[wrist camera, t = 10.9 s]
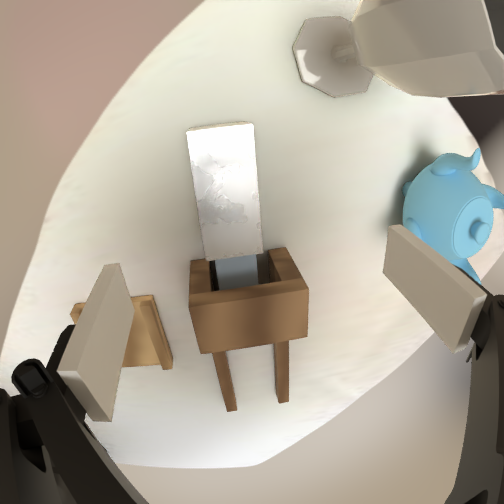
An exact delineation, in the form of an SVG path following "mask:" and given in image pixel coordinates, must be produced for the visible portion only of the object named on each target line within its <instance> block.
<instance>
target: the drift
mask: <svg viewBox="0 0 504 504" xmlns="http://www.w3.org/2000/svg"><path fill="white" fill-rule="evenodd" d="M215 265H216V271H217V278H218V285H219V291H220V290H227V289H234V288H241V287H247V286H254V285H258V271H257V258H256V254H253V255H246V256H240V257H233V258H226V259H219V260H215Z"/></svg>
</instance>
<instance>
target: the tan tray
mask: <svg viewBox="0 0 504 504" xmlns="http://www.w3.org/2000/svg"><path fill="white" fill-rule="evenodd" d="M131 301H132V304H133V307H134V310H135V312H134V316H133V320H132V324H131V328H130V333H129V337H128V341H127V345H126V350H125V354H124V359H123V363H122V367H134V366H148V365H160V364H161V366H162V368H163V370H167V369H172V364H173V357H172V354H171V351H170V348H169V345H168V342H167V340H166V337H165V334H164V331H163V328H162V325H161V321H160V318H159V315H158V312H157V309H156V306H155V302H154V299H153V296H152V295H147V296H139V297H131ZM85 304H86V303H79V304H75V305H74V307H73V309H72V311H71V313H70V315H71V317H72V319H73V321H74V324H75V325H76V323H77V321H78V319H79V317H80V314H81V312H82V310H83V308H84V306H85Z"/></svg>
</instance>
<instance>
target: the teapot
mask: <svg viewBox="0 0 504 504" xmlns="http://www.w3.org/2000/svg"><path fill="white" fill-rule="evenodd" d="M480 154H481V152H480V148H477V149H476V150H475V152H474V153H473V155H472V156H471V157H464V156H461V155H458V154H455V153H446V154H443V155H441V156H439V157H438V158H437V159H436V160H435V161H434V163H432V164H430V165H428V166H427V167H425V168H424V169H423V170H422V171H421V172H420V173H419V174H418V175H417V176H416V177H415V179H414V180H413V182H412V181H408V182H406V183H405V184H404V186H403V189H402V192H403V195H404V196H405V201H404V206H403V226H404V227H405V228H406V229H408V230H409V231H410V232H412V233H413V234H414V235H416V236H417V237H418V238H420V239H421V240H422V241H424V242H425V243H426V244H428V245H429V246H430V247H431V248H433V249H434V250H435V251H437V252H438V253H439V254H440V255H442V256H443V257H444V258H445V259H447V260H448V261H449V262H450V263H451V264H453V265H455V266H457V267H460V268H462V269H463V270H464V271H465V272H467V273H468V274H469V276H471V277H472V278H474V279H475V281H477V282H478V283H479V284H481V281H480V279H479V277H478V276H477V274H476V272H475V271H474V269H473V268H472V266H471V265H470V263H469V262H468V260H467V258H468V257H471V256H473V255H474V254H476V253H477V252H478V251H479V250H480V249H481V248H482V247H483V246H484V244H485V243H486V241H487V239H488V237H489V235H490V232H491V229H492V225H493V208H499V209H504V195H503V194H502V193H501V192H499V191H498V190H496V189H495V188H493V187H491V186H489V185H485V184H481V182H480V181H479V179H478V178H477V177H476V176H475V175H474V174H473V173H472V172H471V171H470V170H473V169H475V168H476V167H477V165H478V163H479V160H480Z"/></svg>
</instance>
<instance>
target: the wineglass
mask: <svg viewBox="0 0 504 504" xmlns="http://www.w3.org/2000/svg"><path fill="white" fill-rule="evenodd" d="M293 51H294V54H295V58H296V61H297V65H298V69H299V72H300V76H301V80H302V82H304V83H307V84H309V85H311V86H313V87H315V88H317V89H319V90H321V91H323V92H325V93H326V94H328V95H330V96H332V97H334V98H335V97H340V96H346V95H353V94H359V93H365V92H366V91H367V89H368V86H369V84H370V81H371V79H372V77H373V75H375V76H376V77H378V78H379V79H381V80H382V81H384V82H385V83H387V84H388V85H390V86H392V87H395V88H397V89H399V90H402V91H404V92H406V93H408V94H411V95H413V96H428V97H440V98H442V97H456V96H472V95H473V96H475V95H492V94H504V0H360V2H359V4H358V6H357V8H356V10H355V13H354V15H353V17H352V19H351V22H350V21H348V20H346V19H344V18H343V17H341V16H334V17H321V18H310V19H306V20H305V22H304V25H303V27H302V29H301V31H300V33H299V35H298V37H297V39H296V41H295V44H294V46H293Z"/></svg>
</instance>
